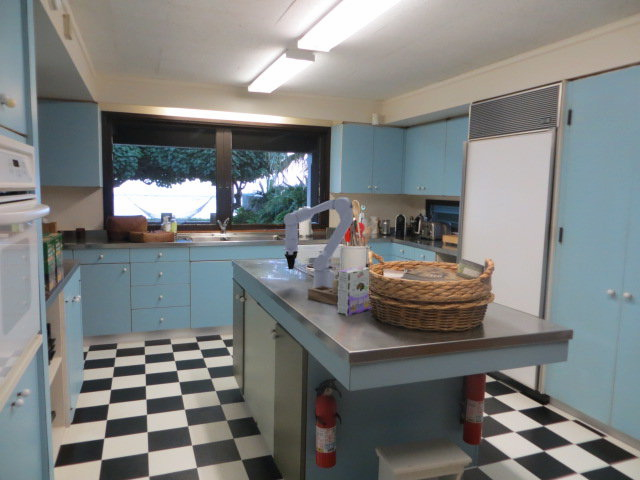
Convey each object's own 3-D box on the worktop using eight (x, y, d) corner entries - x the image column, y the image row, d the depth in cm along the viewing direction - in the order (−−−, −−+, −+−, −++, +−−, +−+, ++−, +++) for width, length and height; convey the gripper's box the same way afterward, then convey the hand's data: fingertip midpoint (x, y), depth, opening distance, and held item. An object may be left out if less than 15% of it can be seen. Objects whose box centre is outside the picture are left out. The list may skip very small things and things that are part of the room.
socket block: (322, 294, 203) (322, 285, 202) (350, 301, 192) (350, 291, 191) (308, 298, 196) (308, 288, 196) (335, 305, 185) (335, 295, 185)
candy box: (360, 306, 184) (361, 265, 182) (371, 309, 179) (372, 267, 178) (336, 313, 174) (337, 270, 172) (348, 316, 170) (348, 272, 168)
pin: (335, 297, 193) (336, 279, 192) (340, 299, 191) (341, 280, 190) (330, 298, 191) (330, 279, 190) (335, 300, 189) (335, 281, 188)
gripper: (283, 237, 221) (283, 265, 222) (281, 240, 206) (281, 270, 208) (298, 237, 221) (298, 265, 222) (297, 240, 206) (297, 270, 208)
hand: (291, 267), depth 215 cm, fingers open, 7 cm apart
